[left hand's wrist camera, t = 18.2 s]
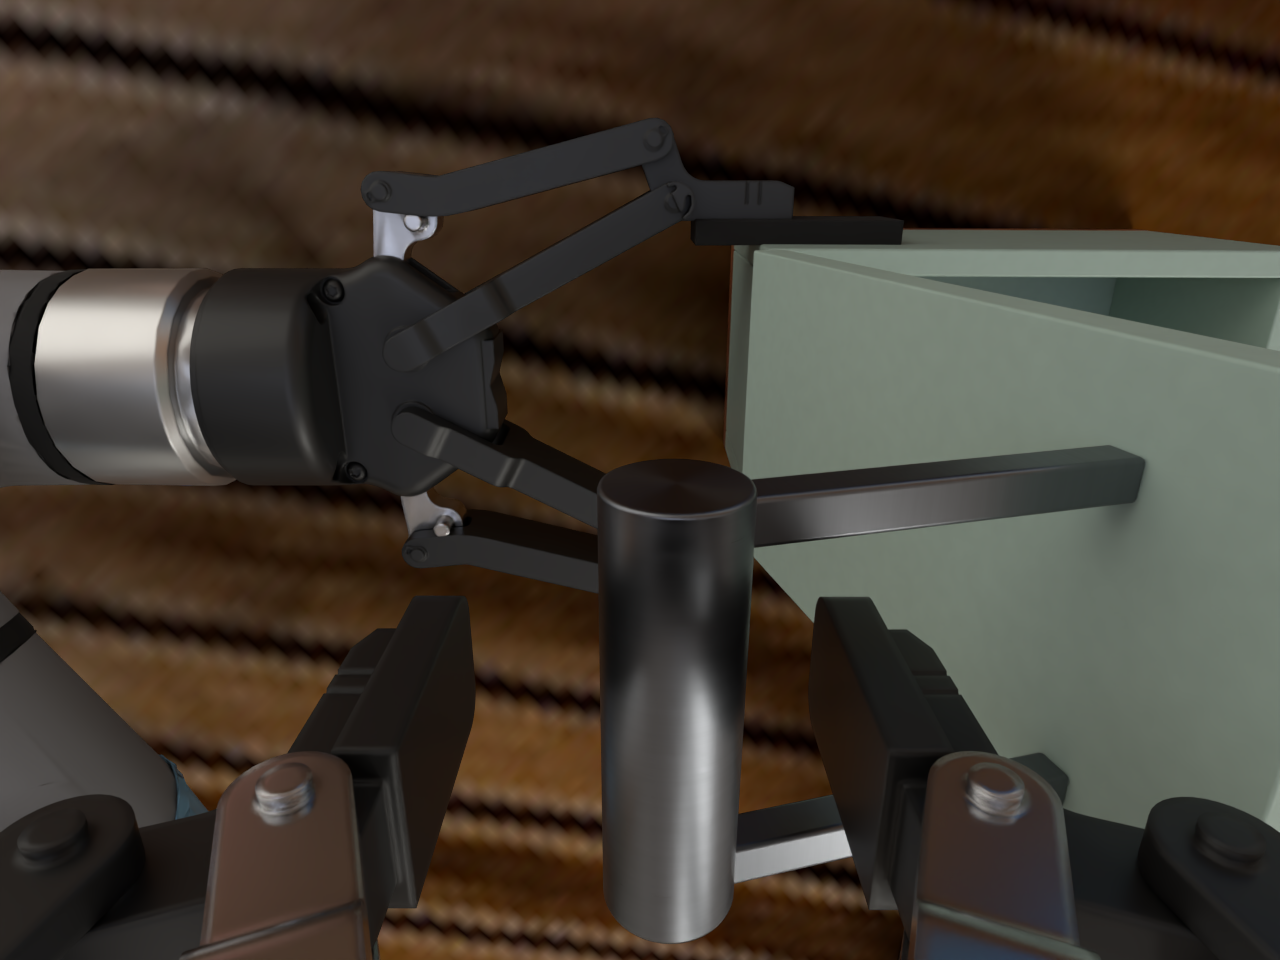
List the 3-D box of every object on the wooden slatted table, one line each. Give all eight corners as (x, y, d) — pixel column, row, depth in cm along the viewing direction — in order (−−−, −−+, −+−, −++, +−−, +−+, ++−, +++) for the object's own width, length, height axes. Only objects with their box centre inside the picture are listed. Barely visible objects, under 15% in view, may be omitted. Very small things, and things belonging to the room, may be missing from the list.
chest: (1135, 229, 33) (1322, 249, 24) (1089, 444, 37) (1238, 534, 28) (732, 227, 33) (766, 247, 24) (722, 442, 37) (749, 532, 28)
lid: (1487, 392, 8) (684, 465, 6) (1244, 1019, 12) (665, 1210, 10) (785, 249, 24) (484, 256, 22) (766, 537, 27) (504, 568, 25)
